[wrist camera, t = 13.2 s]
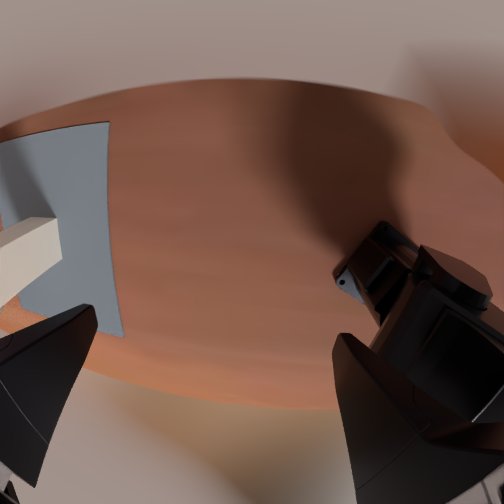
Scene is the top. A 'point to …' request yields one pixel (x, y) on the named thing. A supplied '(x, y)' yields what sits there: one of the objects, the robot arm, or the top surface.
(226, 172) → the top surface
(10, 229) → the block
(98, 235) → the slate mat
